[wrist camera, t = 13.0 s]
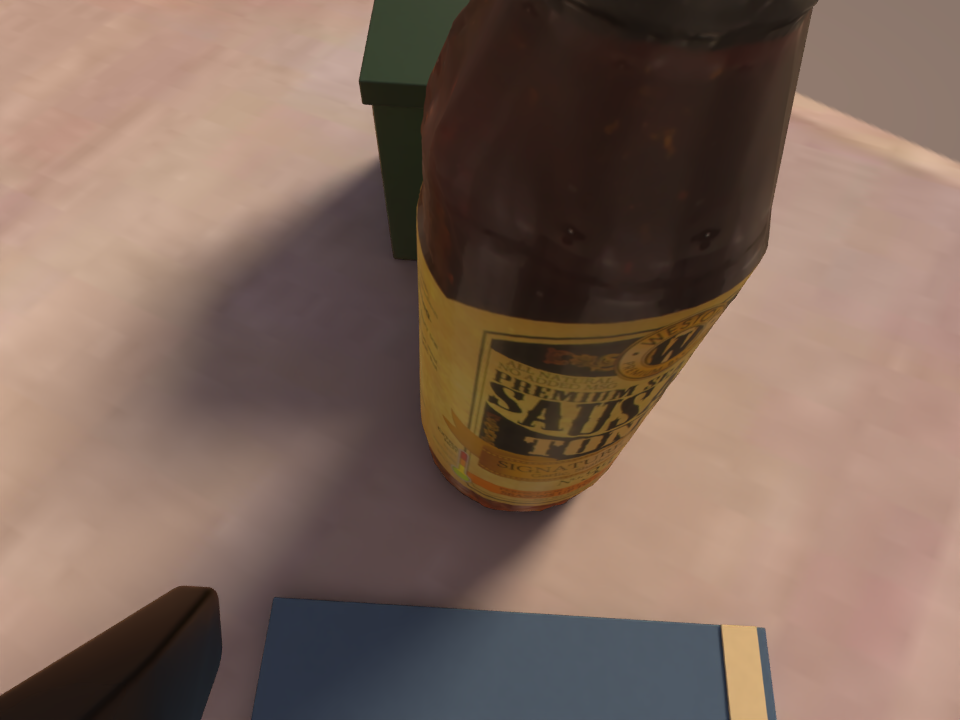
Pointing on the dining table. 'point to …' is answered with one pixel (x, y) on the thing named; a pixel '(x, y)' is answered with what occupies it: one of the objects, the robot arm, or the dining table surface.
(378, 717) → the blue book
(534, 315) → the sauce bottle
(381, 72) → the tin box
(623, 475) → the dining table surface
